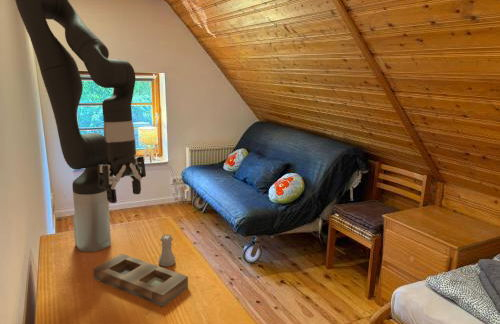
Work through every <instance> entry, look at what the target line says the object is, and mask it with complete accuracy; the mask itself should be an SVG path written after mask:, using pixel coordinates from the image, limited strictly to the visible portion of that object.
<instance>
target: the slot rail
mask: <svg viewBox="0 0 500 324" xmlns="http://www.w3.org/2000/svg"><path fill="white" fill-rule="evenodd" d="M93 279H94V280H96V281H98V282H101V283H103V284H105V285H108V286H110V287H112V288H114V289H117V290H120V291H122V292H124V293H127V294H130V295H132V296H135V297H137V298H140V299H141V300H144V301H147V302H149V303H151V304H154V305H156V306H159V307H162V308H164V307H166V305H168V304H169V303H170V302H172V300H175V299H176V298H177V297H178V296H179V295H181V294H182V293H183V292H184V291H185V290H187V289H188V288H189V276H188V275H185V274H183V273H182V274H181V273H180V272H176V271H174V270H170V269H167V268H165V267H163V266H160V265H156V264H153V263H151V262H147V261H145V260H142V259H139V258H136V257H133V256H130V255H127V254H124V253H120V254H118V255H116V256H114V257H113V258H110V259H109V260H106V261H105V262H102V263H100V264H99V265H97V266H95V267H93Z"/></svg>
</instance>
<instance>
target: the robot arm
mask: <svg viewBox="0 0 500 324" xmlns="http://www.w3.org/2000/svg"><path fill="white" fill-rule="evenodd" d="M14 1H15V4H16V7H17V10H18V13H19V15H20V18H21V20H22V22H23V25H24V27H25V30H26V31H27V35H28V37H29V40H30V43H31V45H32V48H33V51H34V54H35V57H36V60H37V63H38V67H39V72H40V73H41V78H42V81H43V84H44V87H45V91H46V93H47V96H48V99H49V102H50V105H51V109H52V112H53V115H54V117H53V118H54V120H55V124H56V128H57V134H58V139H59V145H60V148H61V153H62V156H63V159H64V161H65V163H66V164H67V166H69V168H70V169H72V170H74V171H77V170H83V169H84V171H83V172H82V173H81V174H80V175H79V176H78V177H76V178H75V179H74V180H73V181H72V197H73V199H72V200H73V208H74V209H73V211H74V214H72V221H73V222H72V223H73V233H74V235H73V236H74V245H75V246H77V247H76V248H77V249H78V251H81V252H85V253H91V252H92V253H93V252H94V253H95V252H98V251H103V250H105V249H107V248H108V247H109V246H111V244H112V237H111V235H112V234H111V219H110V204H116V203H117V201H118V200H117V190H116V189H115V188H116V186H117V184H118V182H120V180H121V179H123V178H125V177H130V178H131V185H132V186H131V187H132V193H133V195H140V194H141V191H142V184H141V181H142V179H143V178H146V175H147V173H146V165H145V164H146V163H145V158H144V156H141V155H137V148H136V138H135V137H136V135H135V127H134V123H133V121H134V120H133V113H132V102H133V98H134V97H133V96H134V92H135V91H134V90H135V84H136V73H135V69H134V67H133V65H132V64H131V63H130V62H129V61H127V60H124V59H115V58H114V59H113V58H112V59H111V58H109V57H110V54H109V53H110V52H109V49H108V47H107V46H106V44H104V42H103V41H102V40H101V39H100V38H98V36H97V35H96V34H95V33H94V32H93V31H92V30H91V29H90V28H89V27H88V26H87V25H86V23H85V22H84V21H83V20H82V18H81V17H80V15H79V14H78V13H77V11H76V9H75V8H74V7H73V5H72V3H71V2H70V0H14ZM47 20H53V21H54V22H57V24H59V25H60V26H62V28H63V29H64V39H65V41H66V43H67V45H68V47H69V48H70V50H71V51H72V52H73V53H74V54H75V55H76V56H77V57H78V58H79V59H80V60H81V61H82V62H83V64H84V66H85V69H86V70H87V72H88V75H89V77H90V78H91V80H92V81H93V82H94V83H95V84H96V85H97V86H99V87H101V88H103V89H113V92H112V95H111V96H110V97H107V98H105V99H104V100H103V101H102V105H101V106H102V118H103V134H101V133H98V132H90V133H85V134H84V133H83V134H81V131H80V127H79V124H78V117H77V116H78V108H79V105H80V102H81V98H82V94H83V87H84V86H83V81H82V77H81V73H80V70H79V68H78V65H77V61H76V60H75V58H74V57H73V55H72V54H71V53H70V52H69V51H68V50H67V48H66V47H65V46H64V45H63V44H62V42H60V41H59V39H58V38H57V37H56V35H54V33H53V32H52V29H51V28H50V25H49V24H48V21H47Z"/></svg>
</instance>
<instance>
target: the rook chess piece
mask: <svg viewBox="0 0 500 324" xmlns="http://www.w3.org/2000/svg"><path fill="white" fill-rule="evenodd" d="M173 240H174V239H173V237H172V235H171V234H168V233H167V234H162V235H161V238H160V242H161V253H160V256H159V257H158V263H159V266H160V267H163V268H165V267H171V266H173V265H175V263H176V257H175V255H174V253H173V250H172V245H173V243H172V242H173Z"/></svg>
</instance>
